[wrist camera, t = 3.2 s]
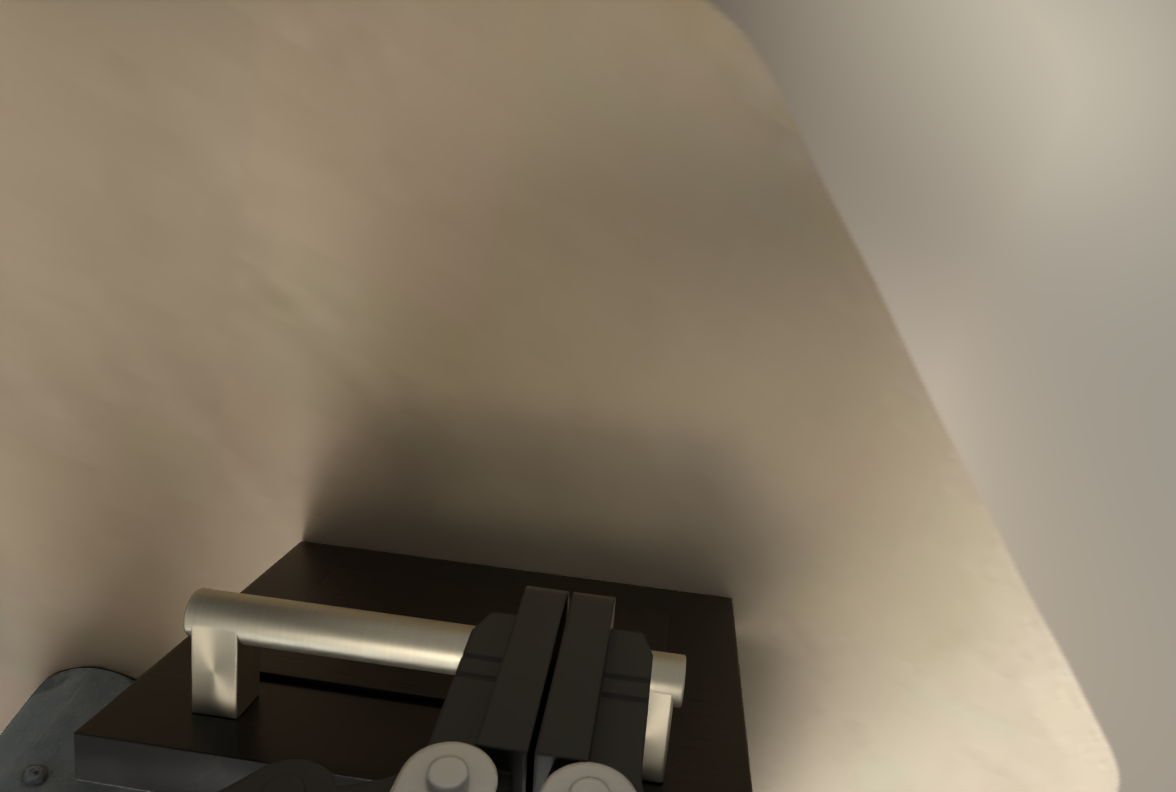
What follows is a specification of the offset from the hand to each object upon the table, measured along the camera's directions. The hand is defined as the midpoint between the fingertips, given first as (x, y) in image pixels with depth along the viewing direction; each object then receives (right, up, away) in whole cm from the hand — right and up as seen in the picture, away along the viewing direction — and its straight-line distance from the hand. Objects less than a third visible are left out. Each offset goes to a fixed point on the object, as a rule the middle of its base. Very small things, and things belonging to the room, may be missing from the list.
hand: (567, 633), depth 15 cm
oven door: (-3, -3, +25) cm, 25 cm away
